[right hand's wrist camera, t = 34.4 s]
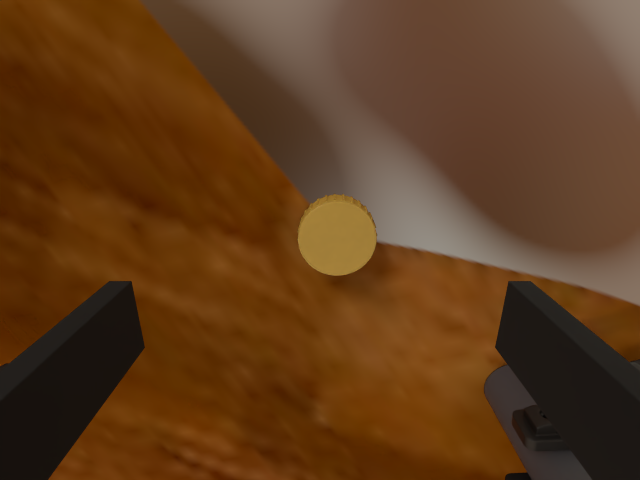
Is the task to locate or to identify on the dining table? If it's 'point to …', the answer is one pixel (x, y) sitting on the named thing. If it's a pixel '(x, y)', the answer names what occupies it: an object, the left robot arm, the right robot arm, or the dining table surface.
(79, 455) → the dining table surface
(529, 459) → the dark grey cylinder
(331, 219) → the lid
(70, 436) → the right robot arm
